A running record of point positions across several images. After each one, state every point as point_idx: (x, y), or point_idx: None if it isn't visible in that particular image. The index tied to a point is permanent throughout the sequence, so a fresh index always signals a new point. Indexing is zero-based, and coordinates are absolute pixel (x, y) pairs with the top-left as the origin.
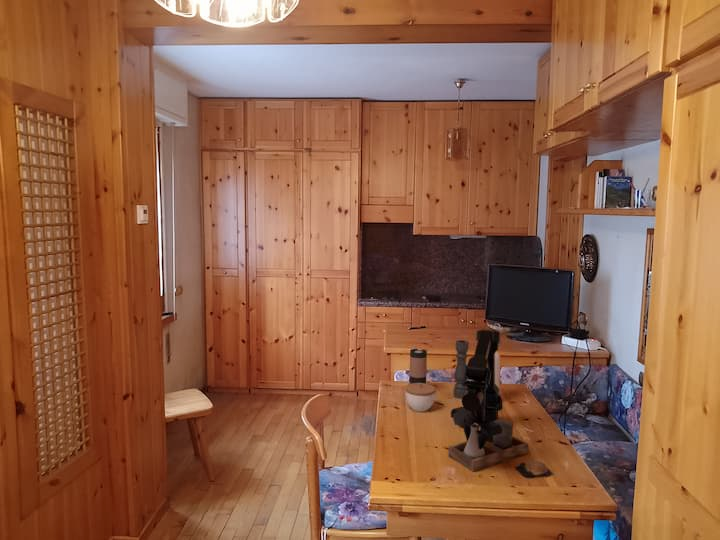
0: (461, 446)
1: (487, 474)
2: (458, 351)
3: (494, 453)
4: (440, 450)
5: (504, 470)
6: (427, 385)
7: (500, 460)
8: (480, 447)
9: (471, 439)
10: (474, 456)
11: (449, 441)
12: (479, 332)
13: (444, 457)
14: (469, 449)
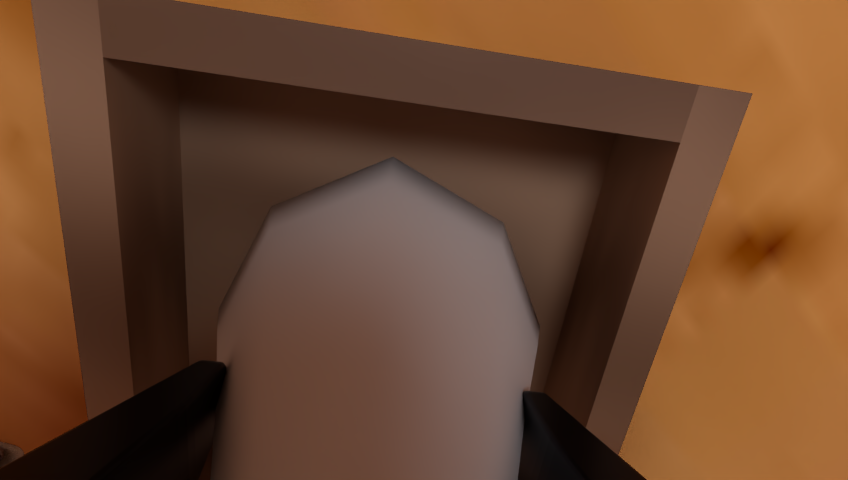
0: (605, 306)
1: (12, 117)
2: None
3: None
4: (812, 135)
5: (19, 345)
6: None
7: None
8: (171, 385)
9: (345, 417)
10: (269, 219)
11: (825, 379)
12: None
13: (672, 18)
14: (361, 239)
